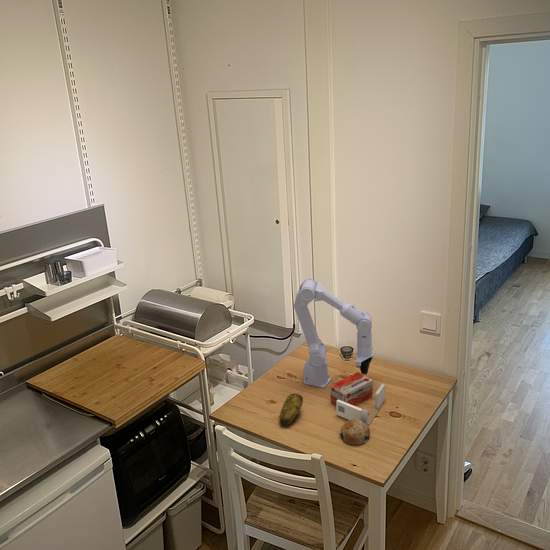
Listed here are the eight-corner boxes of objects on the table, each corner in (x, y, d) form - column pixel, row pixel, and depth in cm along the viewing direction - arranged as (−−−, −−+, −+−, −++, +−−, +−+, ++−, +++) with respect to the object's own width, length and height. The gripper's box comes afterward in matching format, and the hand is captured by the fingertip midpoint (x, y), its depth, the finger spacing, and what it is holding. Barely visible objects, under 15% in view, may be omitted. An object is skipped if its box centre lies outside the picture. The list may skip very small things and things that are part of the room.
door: (360, 424, 209) (360, 410, 207) (336, 414, 216) (336, 400, 213) (362, 423, 210) (362, 409, 208) (338, 413, 216) (338, 399, 214)
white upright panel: (360, 427, 208) (360, 411, 206) (380, 398, 225) (380, 382, 223) (366, 428, 207) (366, 412, 205) (386, 399, 224) (386, 384, 222)
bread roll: (357, 456, 199) (366, 441, 195) (332, 438, 202) (341, 423, 198) (368, 440, 207) (377, 425, 203) (344, 423, 210) (353, 408, 206)
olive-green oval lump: (270, 421, 215) (269, 402, 212) (294, 405, 224) (293, 387, 221) (287, 429, 210) (286, 410, 207) (310, 413, 218) (309, 395, 215)
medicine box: (344, 412, 218) (344, 393, 215) (330, 403, 224) (329, 385, 221) (373, 397, 226) (373, 379, 223) (358, 388, 232) (358, 371, 230)
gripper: (367, 353, 221) (367, 384, 226) (380, 337, 233) (379, 367, 238) (350, 349, 224) (350, 380, 229) (363, 334, 236) (363, 363, 241)
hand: (364, 373), depth 234 cm, fingers closed
